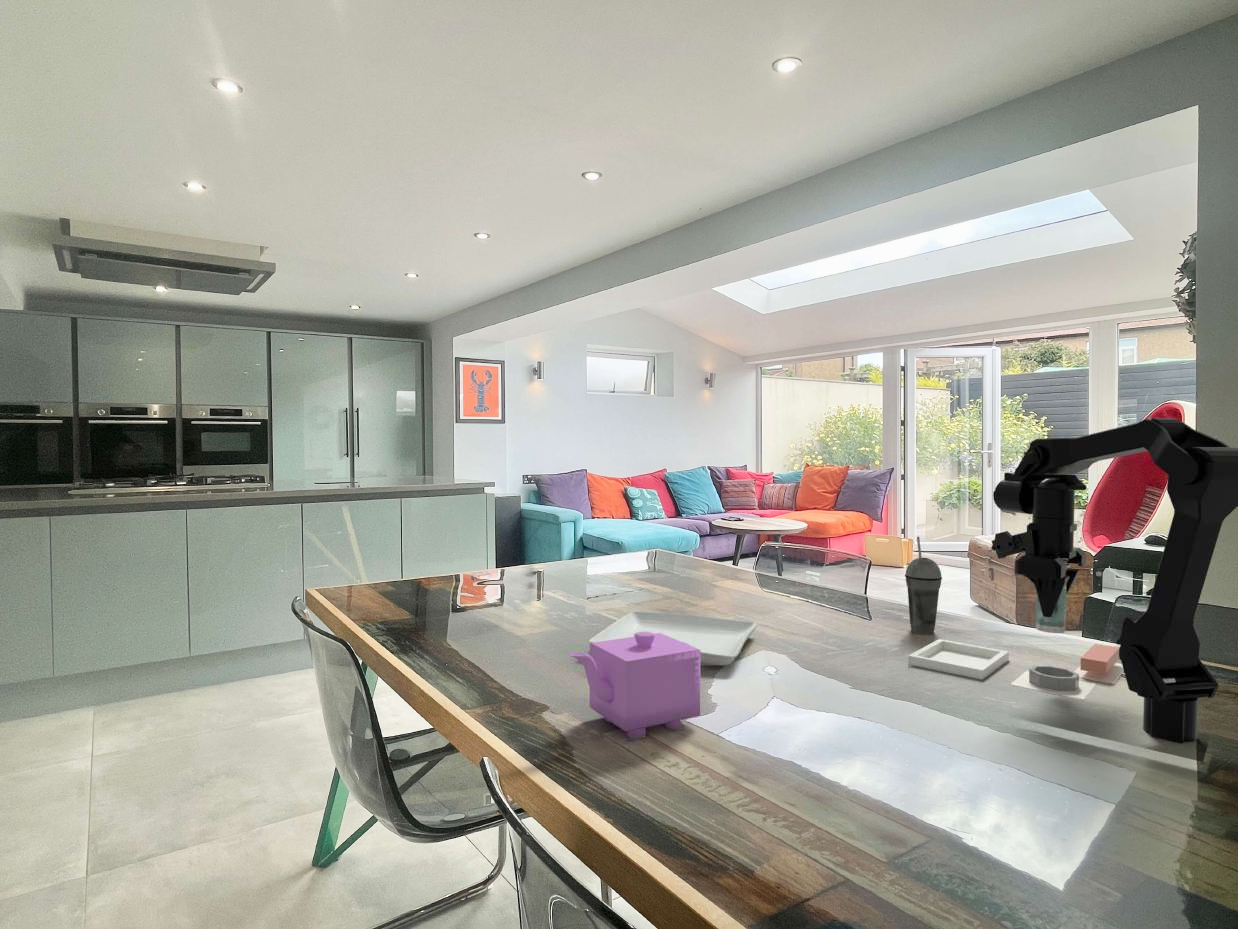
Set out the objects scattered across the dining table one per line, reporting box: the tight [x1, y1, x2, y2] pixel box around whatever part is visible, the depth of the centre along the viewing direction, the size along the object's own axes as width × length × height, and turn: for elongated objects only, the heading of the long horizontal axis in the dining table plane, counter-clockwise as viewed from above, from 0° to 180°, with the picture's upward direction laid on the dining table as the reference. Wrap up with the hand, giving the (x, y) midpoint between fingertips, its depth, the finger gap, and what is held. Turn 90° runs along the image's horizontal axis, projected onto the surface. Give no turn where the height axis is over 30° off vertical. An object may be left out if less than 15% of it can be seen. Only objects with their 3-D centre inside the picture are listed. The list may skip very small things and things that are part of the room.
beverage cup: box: [904, 536, 943, 635], centre depth 152 cm, size 7×7×20 cm
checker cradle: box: [1009, 662, 1124, 701], centre depth 121 cm, size 26×12×3 cm, turn 137°
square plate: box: [587, 610, 758, 667], centre depth 140 cm, size 27×27×4 cm
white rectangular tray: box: [907, 638, 1010, 680], centre depth 128 cm, size 15×12×2 cm
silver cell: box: [1035, 575, 1067, 634], centre depth 116 cm, size 4×4×10 cm
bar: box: [1080, 643, 1120, 674], centre depth 123 cm, size 12×4×2 cm, turn 137°
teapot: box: [569, 632, 701, 739], centre depth 100 cm, size 20×10×12 cm, turn 120°
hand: (1050, 614), depth 116 cm, fingers closed on silver cell, 4 cm apart
